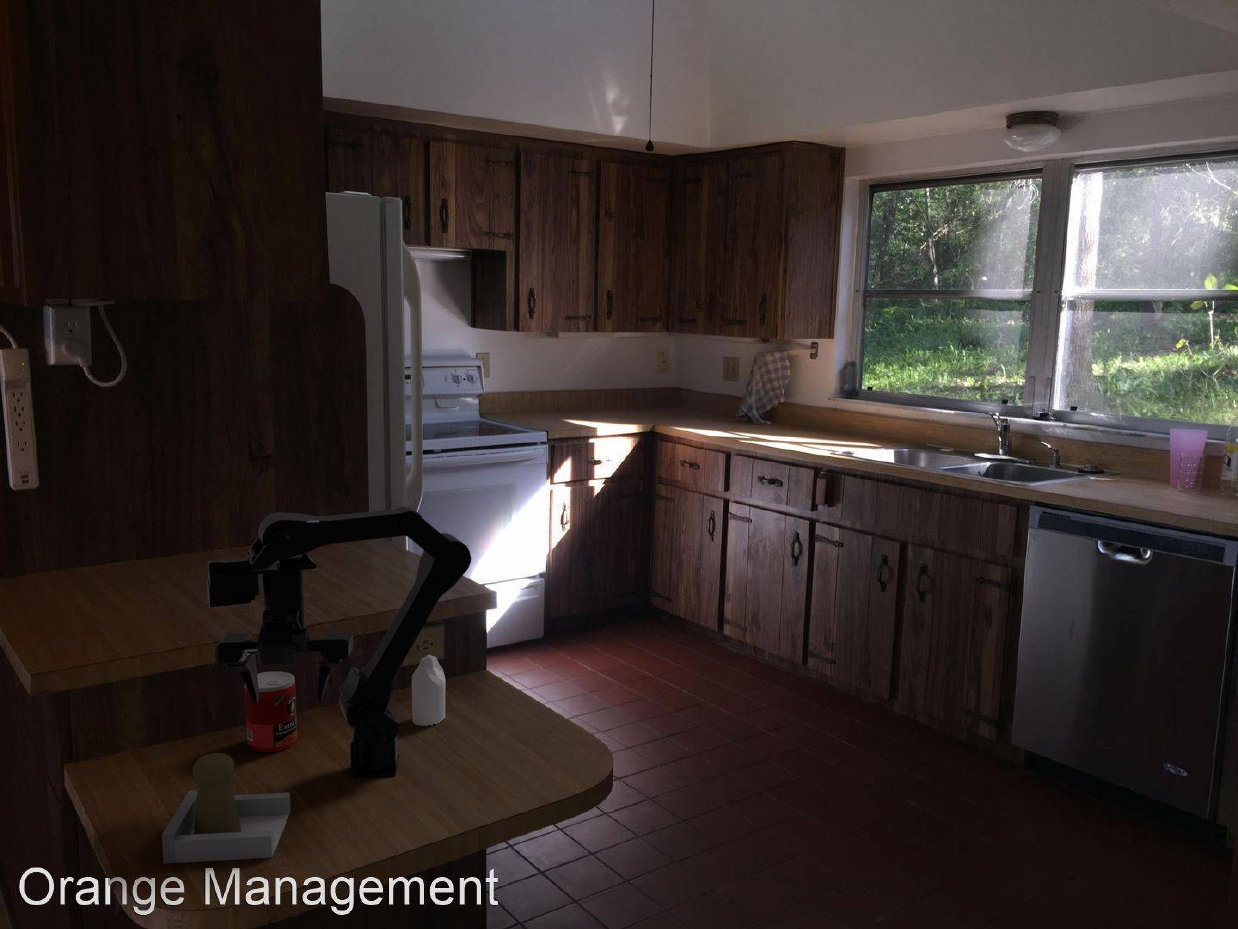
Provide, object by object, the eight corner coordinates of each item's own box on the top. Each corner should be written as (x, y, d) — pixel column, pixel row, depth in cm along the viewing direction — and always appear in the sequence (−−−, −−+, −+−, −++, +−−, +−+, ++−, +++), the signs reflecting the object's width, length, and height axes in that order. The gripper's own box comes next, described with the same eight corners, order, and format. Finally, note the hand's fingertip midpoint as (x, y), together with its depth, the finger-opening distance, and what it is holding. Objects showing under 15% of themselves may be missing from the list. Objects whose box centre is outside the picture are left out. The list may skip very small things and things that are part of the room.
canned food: (282, 755, 161) (279, 690, 160) (237, 750, 163) (233, 685, 161) (306, 735, 169) (303, 673, 167) (263, 731, 170) (260, 669, 169)
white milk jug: (430, 645, 178) (452, 652, 174) (432, 710, 180) (453, 718, 176) (403, 654, 173) (425, 662, 170) (405, 721, 175) (426, 729, 172)
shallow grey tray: (290, 812, 143) (289, 786, 143) (272, 857, 131) (270, 829, 131) (191, 817, 142) (189, 790, 141) (163, 863, 130) (161, 834, 129)
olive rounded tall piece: (189, 830, 137) (185, 753, 136) (236, 818, 141) (232, 744, 139) (197, 850, 132) (192, 771, 131) (245, 838, 135) (241, 760, 134)
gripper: (201, 618, 138) (207, 726, 141) (340, 614, 141) (344, 720, 143) (223, 595, 149) (228, 696, 152) (352, 592, 152) (355, 691, 154)
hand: (288, 701), depth 150 cm, fingers open, 9 cm apart
